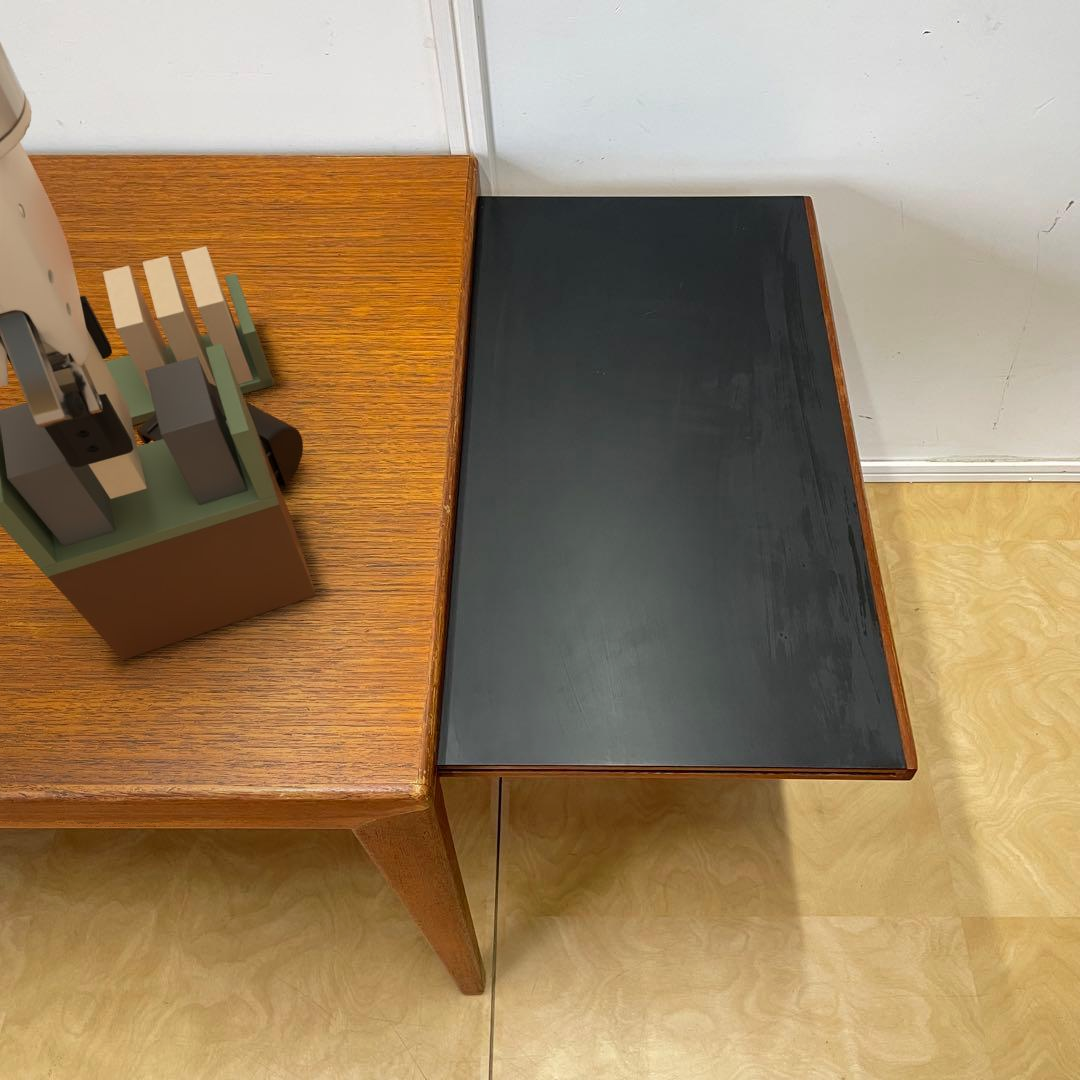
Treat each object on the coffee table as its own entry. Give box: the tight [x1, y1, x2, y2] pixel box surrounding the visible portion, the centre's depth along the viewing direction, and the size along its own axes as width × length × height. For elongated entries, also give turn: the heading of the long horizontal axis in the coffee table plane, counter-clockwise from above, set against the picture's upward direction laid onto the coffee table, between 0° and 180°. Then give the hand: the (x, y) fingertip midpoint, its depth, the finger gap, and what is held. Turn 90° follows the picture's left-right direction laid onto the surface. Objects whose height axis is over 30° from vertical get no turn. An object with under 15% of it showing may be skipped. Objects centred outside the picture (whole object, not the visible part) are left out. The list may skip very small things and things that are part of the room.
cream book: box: [42, 328, 147, 499], centre depth 49 cm, size 2×6×9 cm, turn 22°
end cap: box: [136, 383, 304, 492], centre depth 71 cm, size 10×7×7 cm
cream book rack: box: [102, 245, 275, 426], centre depth 74 cm, size 16×7×10 cm, turn 112°
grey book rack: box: [0, 344, 317, 661], centre depth 59 cm, size 14×7×20 cm, turn 112°
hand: (92, 404), depth 50 cm, fingers closed on cream book, 6 cm apart
